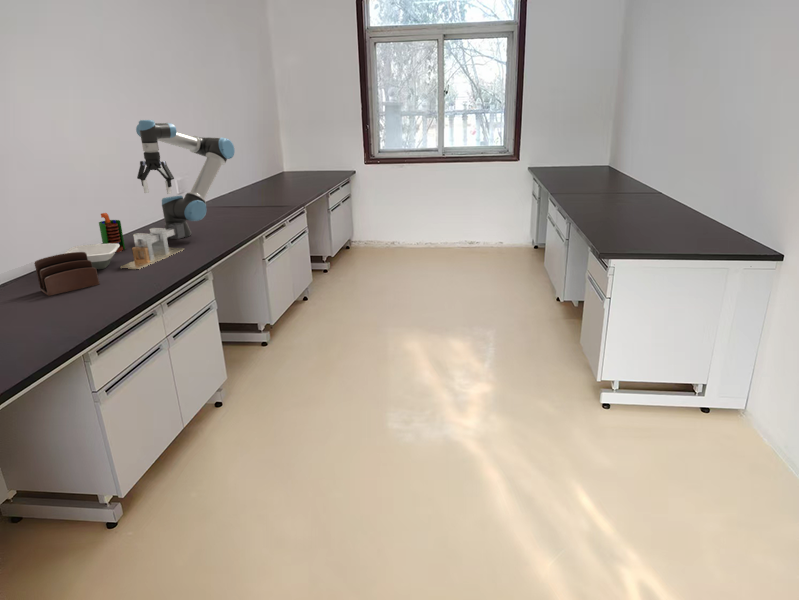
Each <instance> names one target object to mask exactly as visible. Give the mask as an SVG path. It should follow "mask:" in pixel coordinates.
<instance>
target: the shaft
mask: <svg viewBox="0 0 799 600" xmlns="http://www.w3.org/2000/svg"><path fill="white" fill-rule="evenodd" d="M168 228H169V229H167V230H166V235H167V237H170V238H171V239H172V240H179V239H183V238H182V237H185V231H184V225H183V223H174V224H171V225H168ZM150 237H151V243H154V242H157V241H159V240H160V234H153V235H150ZM185 238H186V237H185ZM141 245H144V240H143V239H141Z"/></svg>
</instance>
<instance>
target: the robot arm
mask: <svg viewBox="0 0 799 600" xmlns="http://www.w3.org/2000/svg"><path fill="white" fill-rule="evenodd" d="M135 130H136V134H137V136H139V137H140V140H141V144H142V151H143V158H144V160H140V161H139V169H138V173H137V179H138V180H140V181H141V186H142V188H143V191H144V194H147V193H149V192H150V188H149V184H148V180H147V177H148V176H149V173H150V172H151V171H157V172H159V174H160V175H161V176H162V177H163V178H164V179H165V181H164V182H165V183H164V184H165V188H166V189H165V191H166V194H167V195H169V194H172V180H174V179H175V177H174V175H173V174H172V172H171V170H170V168H169V167H168V164H167V162H166V161H165V160H164V161H161V155H160V152H159V150H160V147H159V142H160V143H161V142H162V143H166V144H168V145H170V146H176V147H179V148H181V149H182V148H183V149H186V150H189V151H190V152H191V153H193V154H197V155H199V156H203V157H205V158H206V160H205V161H204V163H203V166H202V167H201V170H200V171H199V173H198V176H197V178H196V180H195V182H194V184H193V186H192V187H191V190H190V191H189V192H187V193H185V196H183V195H173V196H167V197H163V198H162V199H161V207H162V213H163V214H162V215H163V219H164V228H165V229H166V230H167V229H169V228H168V225H171V224H174V223H183V225H184V231H185V238H188V236H189V237H191V236H192V235H191V234H192V230H191V229H190V227H189V224H188V222H187V221H189V222H199V221H201V220H203V219H204V218H205V217H206V214H207V211H208V210H207V201H206V197H207V196H208V194H209V191H210V189H211V187H212V185H213V183H214V181H215V179H216V177H217V175H218V173H219V170H220V168H221V166H224V165H226V163H227V161H228V160H231V159H232V158H233V157H234V156H235V146H234V143H233V141H231V140H230V139H229V138H225V137H204V136H203V137H200V136H196V135H194V136H191V135H187V134H185V133H181V132H178V131H177V127H176V125H174V124H173V123H171V122H165V123H164V122H163V123H162V122H161V123H160V122H155V120H154V119H145V120H144V119H140V120H139V121H138V124H137V126H136V127H135ZM190 235H191V236H190ZM168 239H171V238H170V237H167V240H168ZM181 239H184V237H182V238H181Z"/></svg>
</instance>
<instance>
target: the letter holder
mask: <svg viewBox="0 0 799 600" xmlns="http://www.w3.org/2000/svg"><path fill="white" fill-rule="evenodd" d="M64 253H65V252H64ZM64 253H60V254H56V255H51V256H47V257H43V258H39V259H37V260H35V261H34V267H35V268H34V269H35V271H36V275H37V281H38V284H39V289H40V291H41V292H42V293H43V294H45V295H46V296H48V297H50V296H54V295H58V294H63V293H67V292H72V291H76V290H77V291H78V290H81V289H85V288H86V289H87V288H90V287H94V286H99V285H100V284H101V283H100V279H99V275H98V271H97V270H96V268H93V267H92V262H91V261H90V260H88V259H87V254H86V253H85V252H73V253H65V254H64Z"/></svg>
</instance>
